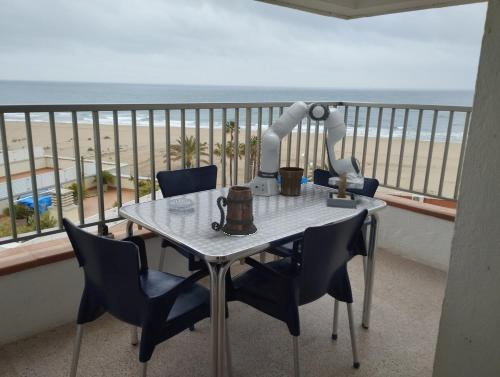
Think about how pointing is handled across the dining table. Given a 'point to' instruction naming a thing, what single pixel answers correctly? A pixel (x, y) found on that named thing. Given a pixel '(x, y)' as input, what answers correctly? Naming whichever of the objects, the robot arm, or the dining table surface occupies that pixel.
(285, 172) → the plant pot
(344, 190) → the peg
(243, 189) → the tankard
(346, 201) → the tray
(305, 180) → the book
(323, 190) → the dining table surface
